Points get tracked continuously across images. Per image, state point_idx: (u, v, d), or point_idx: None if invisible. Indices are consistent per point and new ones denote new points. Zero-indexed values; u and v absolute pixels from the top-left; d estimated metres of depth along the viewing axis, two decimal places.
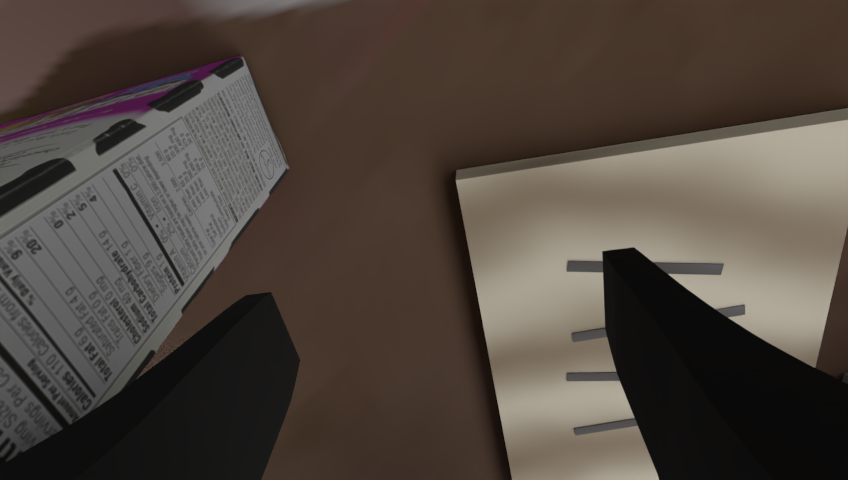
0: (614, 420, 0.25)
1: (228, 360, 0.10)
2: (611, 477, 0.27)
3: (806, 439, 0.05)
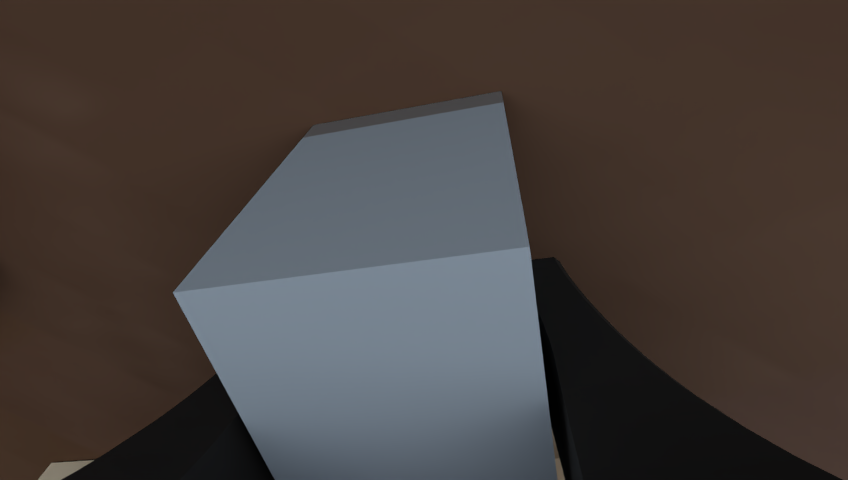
0: None
1: None
2: None
3: (633, 450, 0.05)
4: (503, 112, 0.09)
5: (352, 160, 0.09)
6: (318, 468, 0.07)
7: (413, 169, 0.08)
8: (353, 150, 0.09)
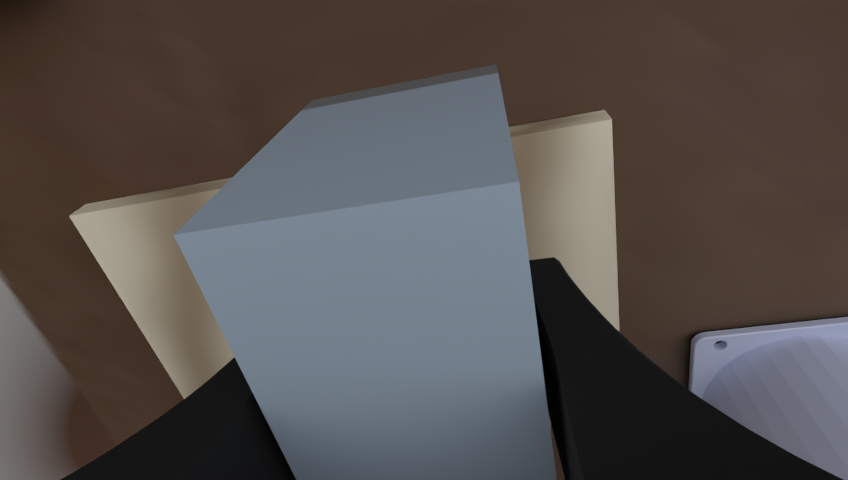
0: None
1: None
2: None
3: (634, 450, 0.05)
4: (497, 80, 0.09)
5: (349, 125, 0.09)
6: (315, 420, 0.07)
7: (409, 128, 0.08)
8: (350, 117, 0.09)
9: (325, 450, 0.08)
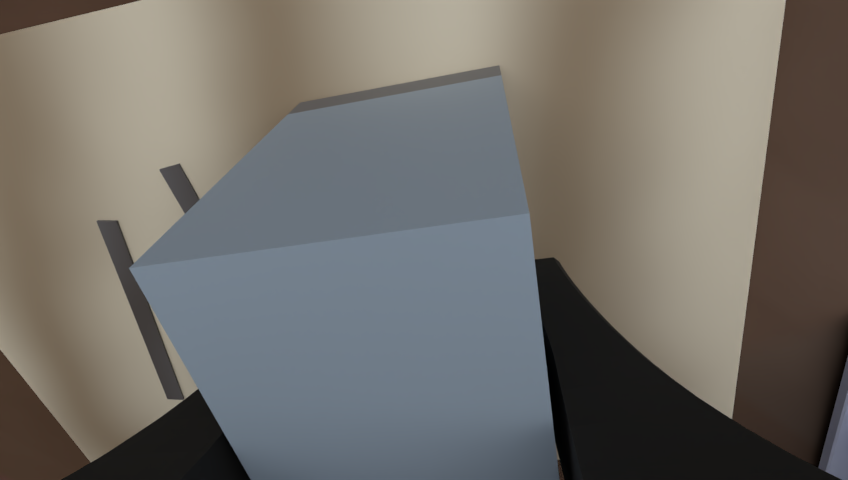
0: None
1: None
2: (670, 310, 0.12)
3: (633, 450, 0.05)
4: (501, 84, 0.08)
5: (337, 133, 0.08)
6: (297, 466, 0.07)
7: (403, 140, 0.07)
8: (339, 124, 0.08)
9: None
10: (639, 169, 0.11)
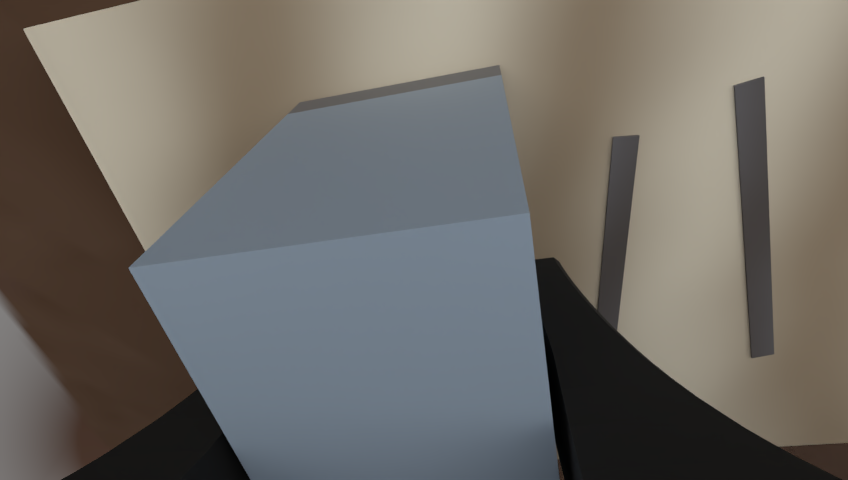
0: (742, 295, 0.12)
1: None
2: None
3: (633, 450, 0.05)
4: (501, 84, 0.08)
5: (337, 133, 0.08)
6: (297, 466, 0.07)
7: (403, 140, 0.07)
8: (339, 124, 0.08)
9: None
10: None
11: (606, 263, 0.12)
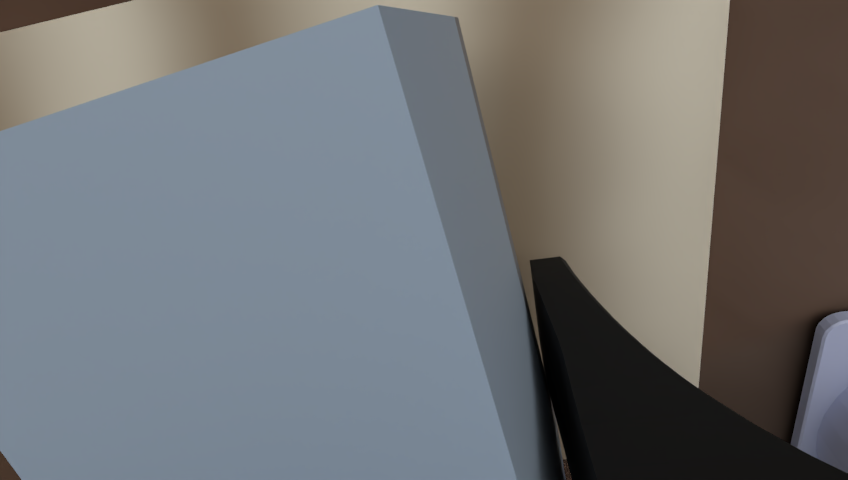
0: None
1: None
2: (630, 314, 0.12)
3: (646, 449, 0.05)
4: (448, 16, 0.07)
5: None
6: None
7: None
8: None
9: None
10: (593, 175, 0.11)
11: None
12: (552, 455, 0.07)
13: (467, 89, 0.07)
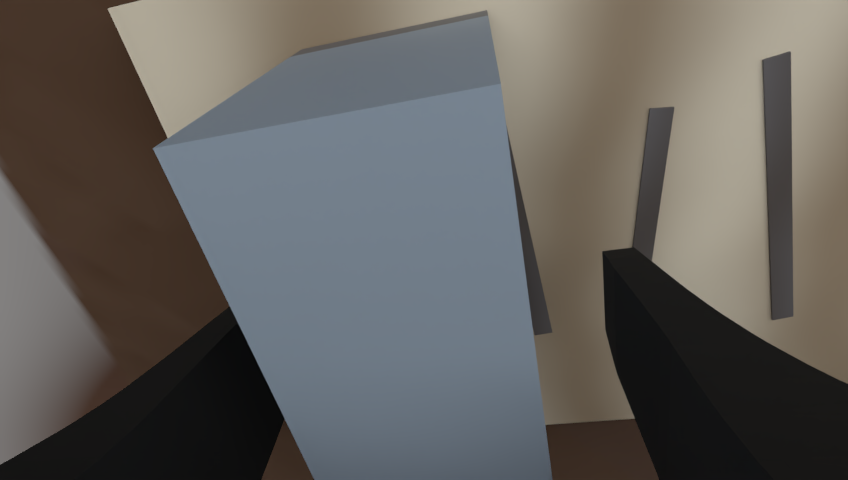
0: (765, 259, 0.13)
1: (228, 360, 0.10)
2: None
3: (806, 439, 0.05)
4: (487, 20, 0.09)
5: (336, 62, 0.09)
6: (300, 350, 0.07)
7: (395, 59, 0.08)
8: (338, 57, 0.09)
9: (311, 382, 0.08)
10: None
11: (639, 229, 0.13)
12: None
13: None
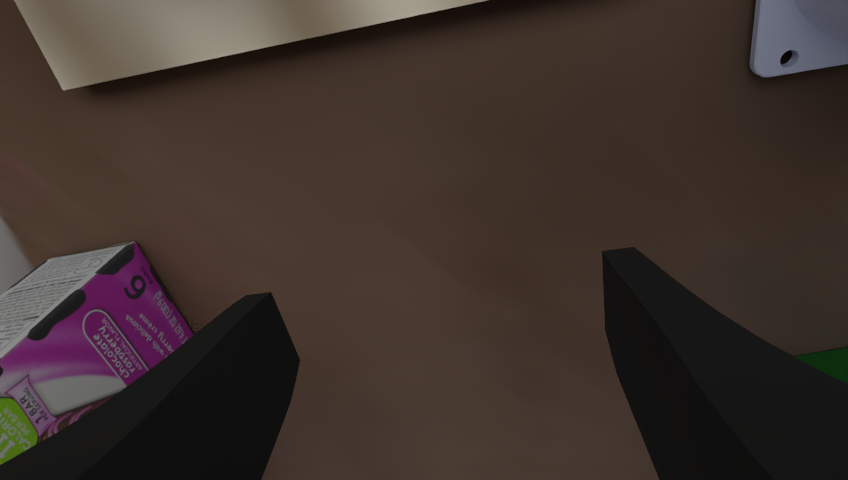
0: None
1: (228, 360, 0.10)
2: None
3: (805, 438, 0.05)
4: None
5: None
6: None
7: None
8: None
9: None
10: None
11: None
12: None
13: None
